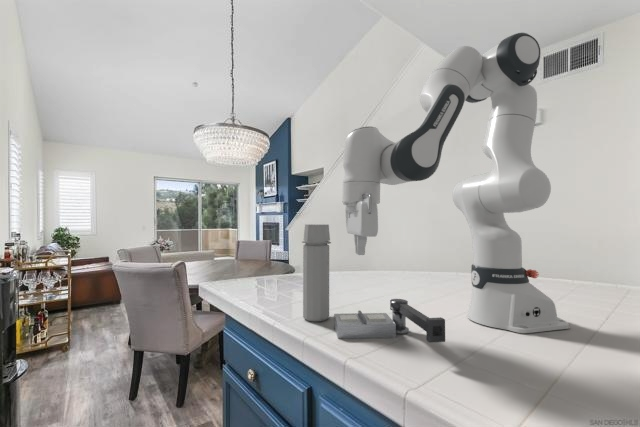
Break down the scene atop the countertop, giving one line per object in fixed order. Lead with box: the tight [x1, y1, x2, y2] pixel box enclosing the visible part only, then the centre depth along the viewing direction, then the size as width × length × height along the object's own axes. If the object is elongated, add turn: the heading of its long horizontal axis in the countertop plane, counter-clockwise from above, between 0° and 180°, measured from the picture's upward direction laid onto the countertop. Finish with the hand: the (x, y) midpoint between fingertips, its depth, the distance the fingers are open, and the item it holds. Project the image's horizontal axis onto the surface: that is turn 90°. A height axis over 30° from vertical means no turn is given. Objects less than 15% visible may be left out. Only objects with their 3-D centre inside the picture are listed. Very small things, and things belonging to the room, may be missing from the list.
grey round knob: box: [391, 310, 410, 335], centre depth 71 cm, size 4×4×4 cm
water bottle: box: [301, 223, 332, 323], centre depth 81 cm, size 9×8×25 cm
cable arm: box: [389, 298, 446, 344], centre depth 64 cm, size 19×4×4 cm, turn 9°
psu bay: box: [333, 310, 397, 339], centre depth 71 cm, size 13×8×4 cm, turn 93°
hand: (359, 254), depth 71 cm, fingers closed
